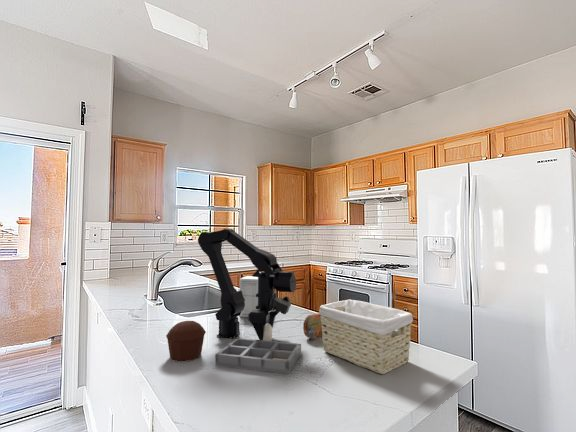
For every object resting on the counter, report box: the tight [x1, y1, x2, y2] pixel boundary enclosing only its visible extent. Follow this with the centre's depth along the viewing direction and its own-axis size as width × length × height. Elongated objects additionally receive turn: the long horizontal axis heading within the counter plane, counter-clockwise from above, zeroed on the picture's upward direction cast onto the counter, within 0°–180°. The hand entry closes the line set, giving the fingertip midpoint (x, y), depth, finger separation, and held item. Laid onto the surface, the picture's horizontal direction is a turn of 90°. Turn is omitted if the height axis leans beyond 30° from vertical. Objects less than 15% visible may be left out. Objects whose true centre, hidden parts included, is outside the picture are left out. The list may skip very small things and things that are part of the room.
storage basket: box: [318, 298, 414, 375], centre depth 97 cm, size 24×16×15 cm
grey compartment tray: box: [214, 337, 302, 375], centre depth 95 cm, size 21×15×3 cm
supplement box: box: [239, 275, 259, 318], centre depth 145 cm, size 10×9×17 cm
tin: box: [302, 312, 323, 341], centre depth 116 cm, size 15×3×8 cm, turn 132°
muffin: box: [166, 320, 207, 363], centre depth 97 cm, size 12×11×10 cm
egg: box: [263, 323, 273, 341], centre depth 111 cm, size 4×4×6 cm
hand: (265, 335), depth 111 cm, fingers open, 9 cm apart
